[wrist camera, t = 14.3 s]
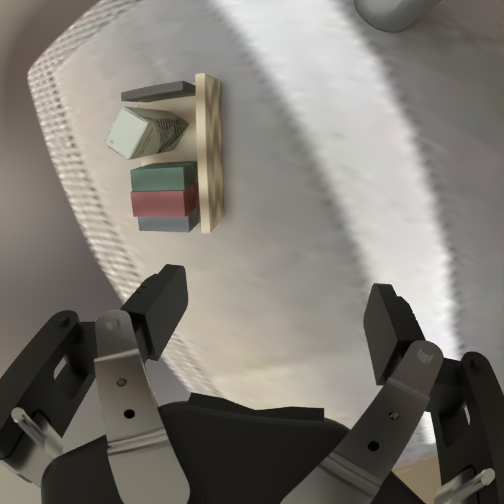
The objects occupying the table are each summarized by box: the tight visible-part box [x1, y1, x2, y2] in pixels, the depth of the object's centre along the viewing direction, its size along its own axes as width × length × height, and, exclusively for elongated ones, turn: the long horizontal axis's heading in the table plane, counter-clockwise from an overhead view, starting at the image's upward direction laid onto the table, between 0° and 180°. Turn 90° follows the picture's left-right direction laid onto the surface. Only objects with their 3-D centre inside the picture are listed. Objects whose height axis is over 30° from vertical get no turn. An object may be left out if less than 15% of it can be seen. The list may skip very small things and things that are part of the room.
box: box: [104, 106, 189, 160], centre depth 32 cm, size 5×4×13 cm
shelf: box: [121, 73, 224, 233], centre depth 37 cm, size 21×13×8 cm, turn 0°
